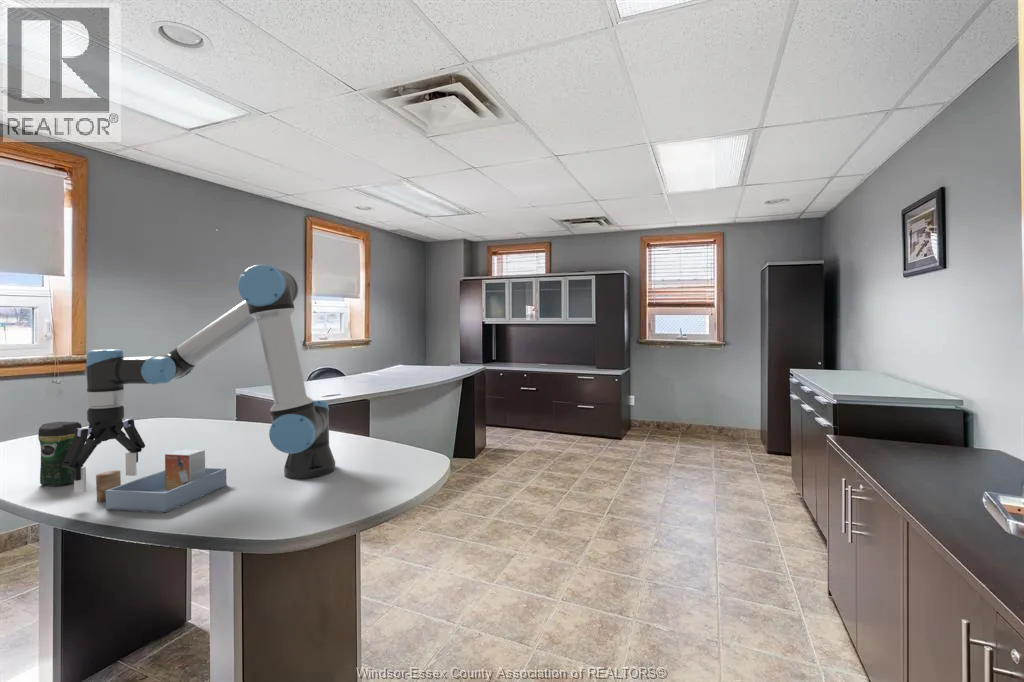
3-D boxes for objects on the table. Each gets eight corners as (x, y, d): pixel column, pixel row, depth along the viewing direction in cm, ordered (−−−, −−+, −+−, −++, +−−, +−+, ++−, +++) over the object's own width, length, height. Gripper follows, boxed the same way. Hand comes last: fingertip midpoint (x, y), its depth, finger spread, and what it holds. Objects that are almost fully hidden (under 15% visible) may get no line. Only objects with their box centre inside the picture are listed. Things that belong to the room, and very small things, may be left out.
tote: (226, 485, 134) (226, 468, 133) (165, 513, 114) (164, 493, 113) (174, 483, 136) (174, 466, 136) (106, 509, 116) (105, 490, 116)
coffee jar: (90, 478, 141) (88, 419, 141) (62, 487, 133) (60, 424, 133) (62, 477, 142) (60, 419, 142) (33, 486, 134) (31, 424, 134)
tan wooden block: (126, 495, 126) (125, 470, 126) (107, 502, 121) (106, 476, 121) (110, 494, 127) (109, 470, 127) (91, 501, 122) (90, 475, 122)
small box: (164, 491, 128) (163, 454, 127) (182, 484, 133) (181, 448, 133) (189, 492, 126) (188, 455, 126) (206, 485, 132) (205, 449, 132)
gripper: (137, 398, 136) (138, 468, 137) (40, 414, 111) (42, 499, 112) (159, 399, 135) (160, 469, 136) (66, 414, 110) (68, 500, 111)
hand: (107, 483), depth 124 cm, fingers open, 13 cm apart
